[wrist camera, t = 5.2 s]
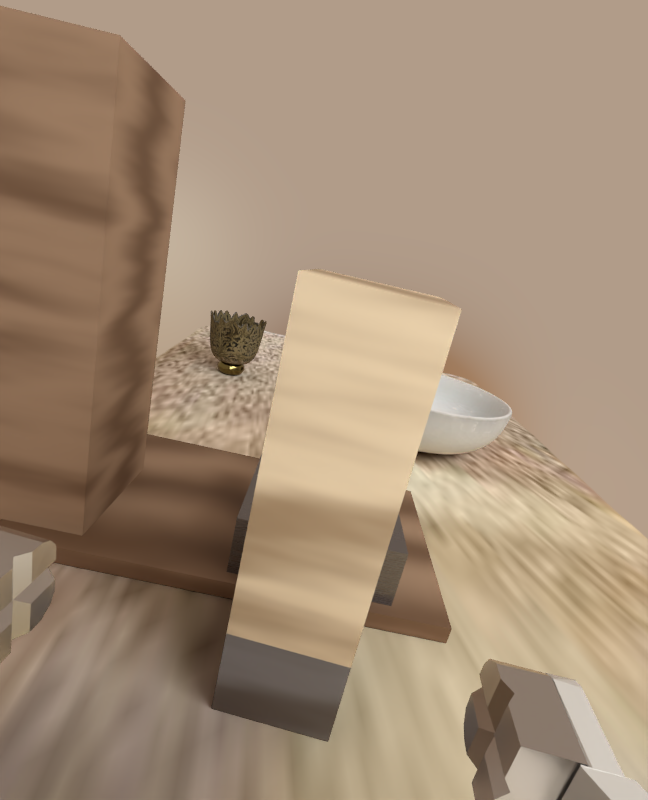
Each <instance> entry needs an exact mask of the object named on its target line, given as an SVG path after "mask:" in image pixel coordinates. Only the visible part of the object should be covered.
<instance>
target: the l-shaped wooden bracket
mask: <svg viewBox="0 0 648 800" xmlns="http://www.w3.org/2000/svg"><path fill="white" fill-rule="evenodd" d="M184 109H185V100H184V99H183V98H182V97H181V96H180V95H179V94H178V93H177V92H176V91H175V90H174V89H173V88H172V87H171V86H170V85H169V84H168V83H167V82H166V81H165V80H164V79H163V78H162V77H161V76H160V75H159V74H158V73H157V72H156V71H155V70H154V69H153V68H152V67H151V66H150V65H149V64H148V63H147V62H146V61H145V60H144V59H143V58H142V57H141V56H140V55H139V54H138V53H137V52H136V51H135V50H134V49H133V48H132V47H131V46H130V45H129V44H128V43H127V42H126V41H125V40H124V39H123V38H122V37H121V36H120V35H117V34H112V33H108V32H105V31H100V30H97V29H92V28H88V27H84V26H80V25H76V24H72V23H68V22H64V21H60V20H56V19H52V18H48V17H44V16H40V15H36V14H32V13H27V12H23V11H20V10H16V9H11V8H7V7H3V6H0V519H1V520H0V526H4V527H7V528H11V529H14V530H17V531H21V532H24V533H27V534H31V535H34V536H38V537H41V538H44V539H48V540H51V541H52V542H53V543H55V544H56V560H55V561H54V562H55V563H60V564H64V565H69V566H74V567H79V568H84V569H89V570H94V571H98V572H103V573H108V574H113V575H118V576H123V577H128V578H132V579H137V580H142V581H147V582H152V583H157V584H162V585H166V586H171V587H176V588H181V589H186V590H191V591H196V592H200V593H205V594H210V595H215V596H220V597H225V598H230V599H233V598H234V593H235V588H236V583H237V578H238V573H239V568H240V563H241V558H242V553H243V547H244V542H245V537H246V532H247V527H248V522H249V517H250V512H251V507H252V502H253V497H254V492H255V487H256V482H257V477H258V472H259V467H260V462H261V457H262V455H261V457H260V459H259V458H255V457H250V456H245V455H241V454H236V453H231V452H227V451H222V450H218V449H213V448H208V447H204V446H199V445H195V444H190V443H185V442H181V441H176V440H172V439H167V438H162V437H158V436H153V435H149V434H147V430H148V421H149V413H150V404H151V395H152V387H153V378H154V369H155V361H156V352H157V343H158V334H159V326H160V316H161V308H162V299H163V291H164V282H165V273H166V265H167V255H168V248H169V239H170V230H171V222H172V213H173V204H174V195H175V186H176V178H177V169H178V161H179V152H180V143H181V134H182V126H183V117H184ZM364 626H366V627H370V628H375V629H380V630H385V631H390V632H395V633H400V634H404V635H409V636H414V637H419V638H424V639H429V640H434V641H438V642H443V643H446V642H447V639H448V637H449V634H450V632H451V625H450V622H449V619H448V615H447V612H446V609H445V605H444V602H443V599H442V595H441V592H440V589H439V585H438V582H437V579H436V575H435V572H434V568H433V565H432V562H431V558H430V555H429V552H428V548H427V545H426V542H425V538H424V535H423V532H422V528H421V525H420V522H419V518H418V515H417V512H416V508H415V505H414V501H413V498H412V495H411V491H407V490H406V491H405V495H404V498H403V501H402V504H401V508H400V511H399V514H398V517H397V520H396V524H395V527H394V530H393V533H392V537H391V540H390V543H389V546H388V550H387V553H386V556H385V559H384V562H383V566H382V569H381V572H380V575H379V579H378V582H377V585H376V588H375V592H374V595H373V598H372V601H371V604H370V608H369V611H368V614H367V617H366V621H365V624H364Z"/></svg>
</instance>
